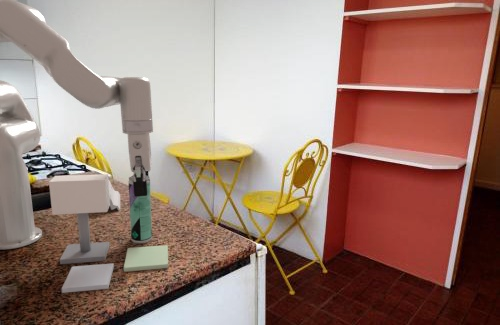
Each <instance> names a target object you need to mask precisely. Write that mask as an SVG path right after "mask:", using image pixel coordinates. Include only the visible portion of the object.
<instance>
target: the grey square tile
mask: <svg viewBox="0 0 500 325" xmlns="http://www.w3.org/2000/svg"><path fill="white" fill-rule="evenodd" d="M114 265H115V264H114V263H112V262H111V263H101V264H88V265H77V266H71V268H70V270H69V272H68V275H67V277H66V279H65V281H64V283H63V285H62V287H61V293H62V294H64V293H74V292H75V293H76V292H77V293H78V292H85V291H97V290H98V291H99V290H106V289H107V290H108V289H109V287H110V284H111V279H112V276H113V271H114V268H115V266H114Z"/></svg>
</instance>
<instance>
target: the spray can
mask: <svg viewBox="0 0 500 325" xmlns="http://www.w3.org/2000/svg"><path fill="white" fill-rule="evenodd" d="M142 174H143V173H142ZM145 180H147V196H138V197H135V196H134V186H133V181H134V173H133V174H132V176H129V177H128V199H129V218H130V235H131V236H130V238H131V242H132V243H135V244H145V243H148V242H150V241H152V239H153V231H152V230H153V229H152V228H153V227H152V223H153V222H152V204H151V203H152V199H151V179H150V176H149V175H148V176H146V175H145Z"/></svg>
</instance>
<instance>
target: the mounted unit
mask: <svg viewBox="0 0 500 325" xmlns="http://www.w3.org/2000/svg"><path fill="white" fill-rule="evenodd" d="M108 179H109V173H106V174H105V173H104V174H101V173H100V174H74V175H73V174H70V175H69V174H67V175H54V176H53V177H52V178H51V179H50V180H49V181H48V184H49V195H50V205H51V215H52V216H53V215H54V216H56V215H71V214H72V215H75V214H76V215H77V224H78V226H77V227H78V228H77V229H78V238H79V243H72V244H71V243H69V244H67V246H66V247H65V249H64V251H63V253H62V255H61V257H60V258H59V265H67V264H68V265H70V264H81V263H82V264H83V263H95V262H105V261H106V258H107V256H108V252H109V249H110V241H104V242H103V241H100V242H91V233H90V221H89V220H90V219H89V214H93V213H107V211H108V212H109V210H110V209H109V206H110V196H109V181H110V179H109V180H108ZM108 209H109V210H108Z"/></svg>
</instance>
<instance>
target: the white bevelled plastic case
mask: <svg viewBox="0 0 500 325" xmlns="http://www.w3.org/2000/svg"><path fill="white" fill-rule="evenodd" d="M108 180H109V196H110V206H109V209H108V211H107V212H109V210H112V211H113V210H115V209H117V211H118V212H120V211H121V194H120V192H119V191H118V190H115V189H114V187H113V185H112V183H111V181H110V179H109V178H108ZM107 212H106V213H107Z"/></svg>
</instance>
